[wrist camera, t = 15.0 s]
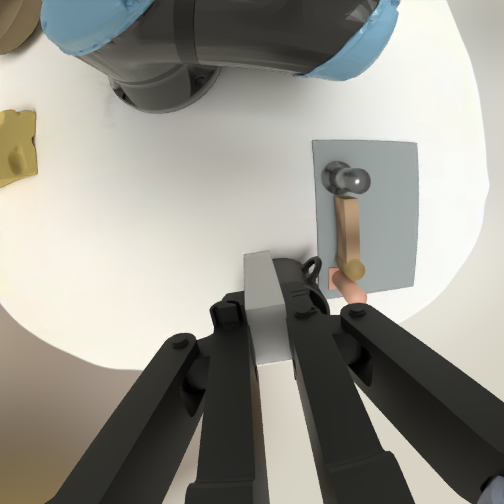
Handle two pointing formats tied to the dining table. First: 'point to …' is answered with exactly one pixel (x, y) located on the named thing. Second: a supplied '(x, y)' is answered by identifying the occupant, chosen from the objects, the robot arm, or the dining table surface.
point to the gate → (349, 237)
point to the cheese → (17, 146)
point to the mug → (303, 278)
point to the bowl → (17, 22)
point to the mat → (372, 212)
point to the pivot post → (345, 179)
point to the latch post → (345, 286)
